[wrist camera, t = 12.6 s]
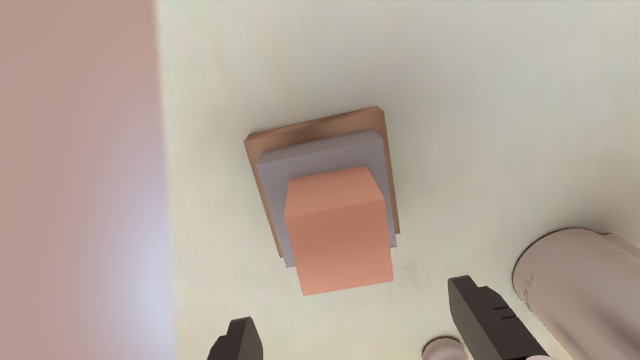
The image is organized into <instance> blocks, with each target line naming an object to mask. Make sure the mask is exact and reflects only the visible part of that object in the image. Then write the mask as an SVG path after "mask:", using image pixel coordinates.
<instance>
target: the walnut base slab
mask: <svg viewBox="0 0 640 360" xmlns="http://www.w3.org/2000/svg"><path fill="white" fill-rule="evenodd" d="M372 128H373V129H374V130H375V131H376V132H377V133H378V135H379V136H380V137H381V138H382V140H383V148H384V155H385V163H386V170H387V178H388V185H389V193H390V200H391V208H392V216H393V223H394V231H395V234H399V233H400V228H399V221H398V214H397V206H396V199H395V192H394V184H393V177H392V169H391V162H390V155H389V147H388V140H387V133H386V125H385V118H384V111H383V110H381V109H380V108H378V107H377V106H376V107H371V108H367V109H362V110H358V111H353V112H349V113H344V114H340V115H335V116H331V117H326V118H322V119H317V120H313V121H308V122H304V123H299V124H295V125H290V126H286V127H281V128H277V129H272V130H268V131H263V132H259V133H254V134H250V135H249V136H248V137H247V138H246V140H245V141H244V145H245V148H246V151H247V154H248V157H249V161H250V164H251V167H252V170H253V173H254V176H255V180H256V183H257V186H258V189H259V192H260V196H261V199H262V202H263V205H264V208H265V211H266V215H267V218H268V221H269V224H270V227H271V230H272V234H273V237H274V240H275V243H276V246H277V250H278V253H279V256H280V258H281V257H283V254H282V250H281V247H280V244H279V240H278V237H277V234H276V230H275V227H274V223H273V220H272V217H271V213H270V210H269V207H268V203H267V200H266V197H265V193H264V190H263V187H262V183H261V180H260V177H259V173H258V170H257V167H256V164H257V162H258V160H259V158H260V156H261V153H262V151H267V150H271V149H276V148H281V147H286V146H290V145H295V144H300V143H305V142H310V141H314V140H319V139H324V138H329V137H333V136H338V135H343V134H348V133H353V132H357V131H362V130H367V129H372Z"/></svg>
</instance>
